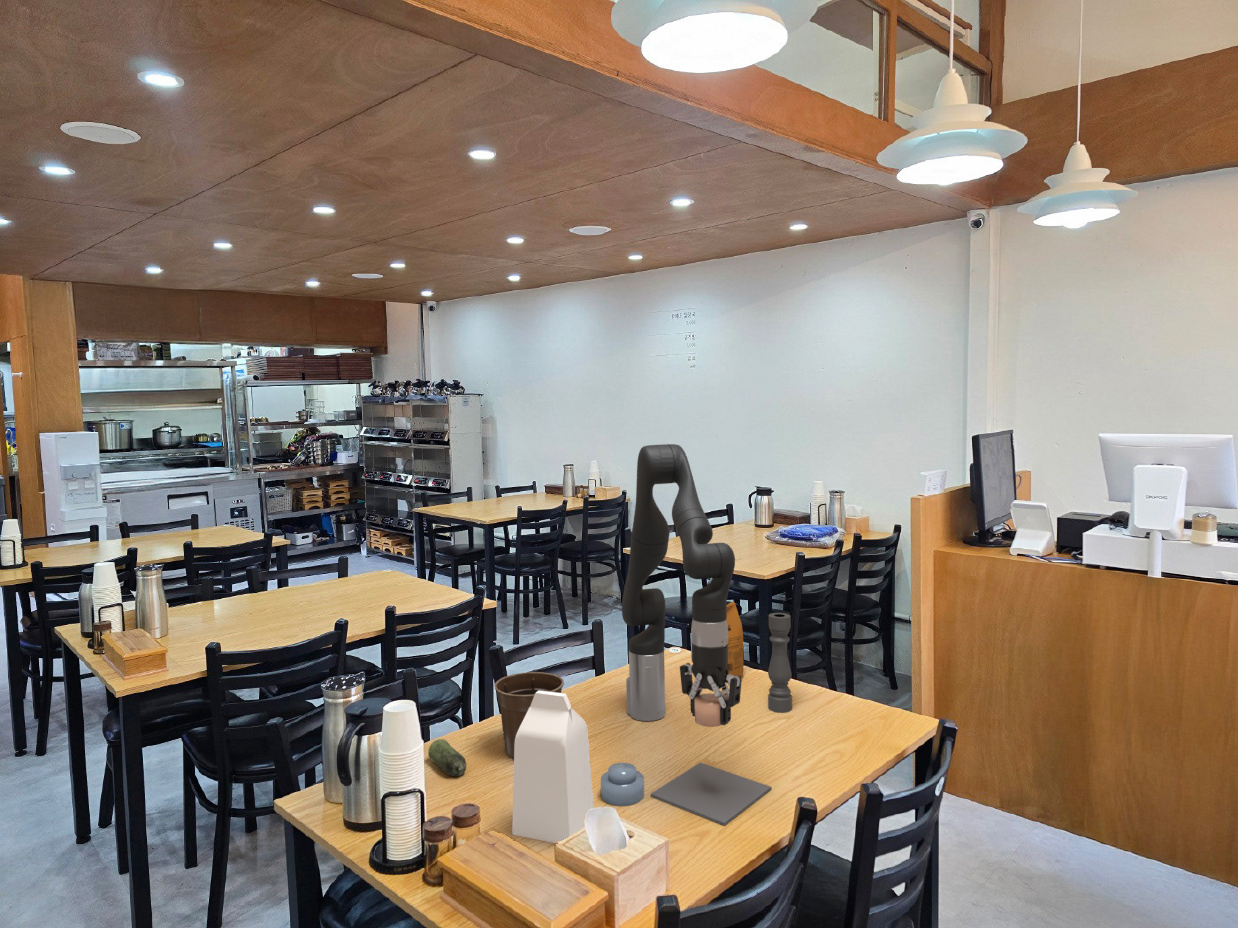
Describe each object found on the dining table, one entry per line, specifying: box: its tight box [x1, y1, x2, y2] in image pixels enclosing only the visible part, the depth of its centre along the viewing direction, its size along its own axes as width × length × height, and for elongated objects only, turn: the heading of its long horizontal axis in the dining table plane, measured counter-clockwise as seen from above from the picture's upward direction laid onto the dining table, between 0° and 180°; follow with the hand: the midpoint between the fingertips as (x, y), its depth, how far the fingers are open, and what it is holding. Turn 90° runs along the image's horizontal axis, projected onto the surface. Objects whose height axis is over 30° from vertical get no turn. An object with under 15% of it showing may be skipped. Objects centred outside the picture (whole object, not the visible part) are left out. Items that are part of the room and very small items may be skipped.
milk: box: [511, 691, 595, 844], centre depth 148 cm, size 12×12×26 cm
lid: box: [694, 693, 722, 728], centre depth 158 cm, size 6×6×4 cm
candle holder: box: [767, 612, 793, 714], centre depth 203 cm, size 6×6×25 cm
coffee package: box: [726, 601, 744, 682], centre depth 227 cm, size 10×12×22 cm
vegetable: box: [427, 738, 467, 777], centre depth 173 cm, size 14×5×5 cm, turn 36°
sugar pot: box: [600, 762, 645, 807], centre depth 159 cm, size 9×9×6 cm
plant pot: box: [494, 671, 565, 759], centre depth 181 cm, size 16×16×16 cm
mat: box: [650, 761, 772, 827], centre depth 159 cm, size 18×18×1 cm
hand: (710, 719), depth 158 cm, fingers closed on lid, 6 cm apart
